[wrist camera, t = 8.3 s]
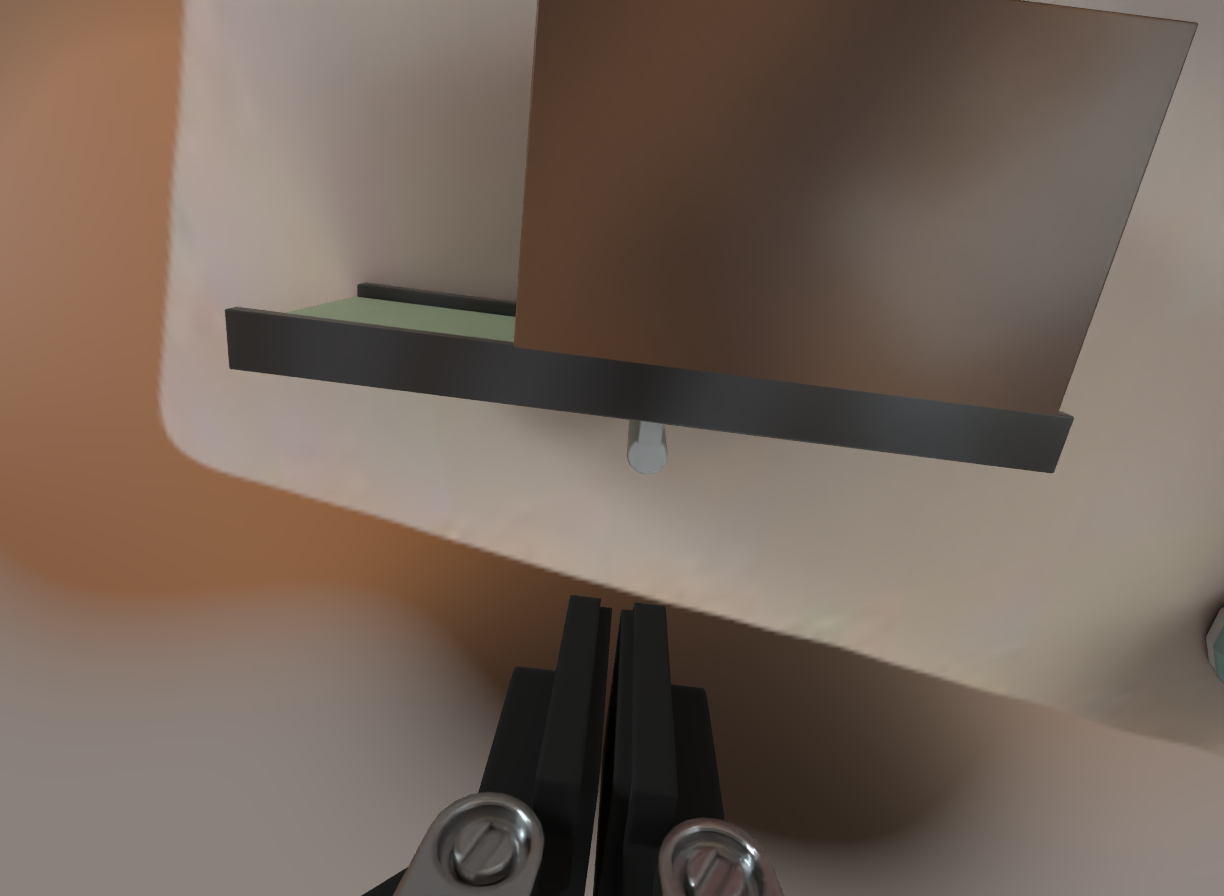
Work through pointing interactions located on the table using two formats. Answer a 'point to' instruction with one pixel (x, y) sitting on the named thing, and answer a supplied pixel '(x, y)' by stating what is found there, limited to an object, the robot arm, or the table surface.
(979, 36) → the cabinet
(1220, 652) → the disposable coffee cup
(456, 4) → the table surface
